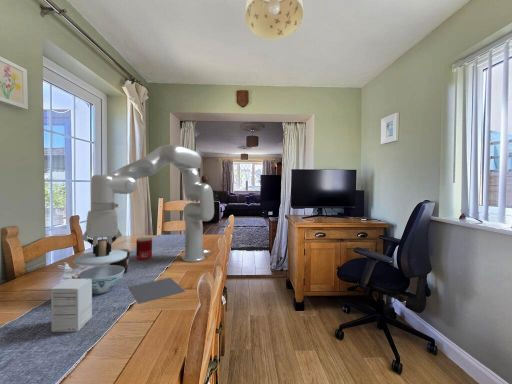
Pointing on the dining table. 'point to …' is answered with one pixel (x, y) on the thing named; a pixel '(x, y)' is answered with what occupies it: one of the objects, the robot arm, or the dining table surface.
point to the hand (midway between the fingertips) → (102, 254)
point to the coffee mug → (123, 261)
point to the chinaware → (103, 277)
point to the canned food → (144, 248)
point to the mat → (155, 290)
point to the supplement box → (71, 305)
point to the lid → (101, 255)
